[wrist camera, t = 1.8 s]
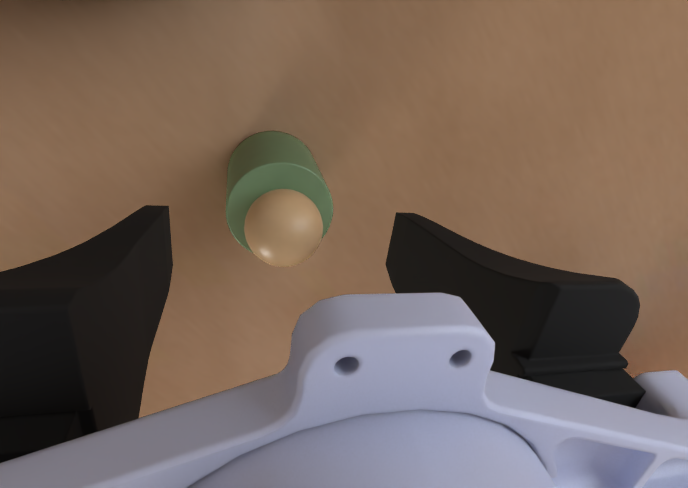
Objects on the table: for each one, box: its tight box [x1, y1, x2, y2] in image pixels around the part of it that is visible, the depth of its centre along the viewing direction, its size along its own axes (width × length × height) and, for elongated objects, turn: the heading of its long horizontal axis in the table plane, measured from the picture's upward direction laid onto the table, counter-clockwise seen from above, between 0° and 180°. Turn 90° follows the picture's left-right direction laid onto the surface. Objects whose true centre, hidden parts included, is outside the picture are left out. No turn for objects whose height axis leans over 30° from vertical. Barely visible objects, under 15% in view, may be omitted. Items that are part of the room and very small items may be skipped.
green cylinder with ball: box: [226, 131, 333, 267], centre depth 16 cm, size 4×4×6 cm
